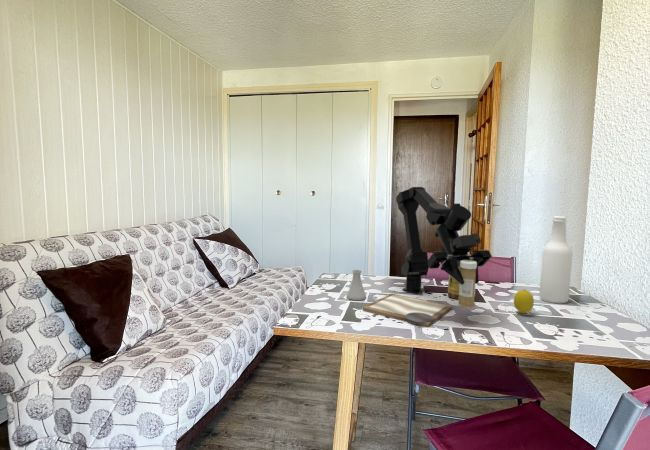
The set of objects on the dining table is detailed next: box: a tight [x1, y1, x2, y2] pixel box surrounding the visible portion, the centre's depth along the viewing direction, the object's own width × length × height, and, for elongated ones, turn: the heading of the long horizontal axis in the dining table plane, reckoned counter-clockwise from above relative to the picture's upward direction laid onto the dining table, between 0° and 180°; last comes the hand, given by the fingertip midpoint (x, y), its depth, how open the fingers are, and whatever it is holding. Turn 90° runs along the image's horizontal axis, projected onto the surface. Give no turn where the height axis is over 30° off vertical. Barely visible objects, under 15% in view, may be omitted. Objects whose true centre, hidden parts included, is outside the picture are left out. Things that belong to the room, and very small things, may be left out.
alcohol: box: [539, 215, 573, 305], centre depth 126 cm, size 9×9×30 cm
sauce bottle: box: [447, 262, 460, 300], centre depth 129 cm, size 7×6×20 cm
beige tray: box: [362, 293, 453, 328], centre depth 116 cm, size 21×22×1 cm
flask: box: [346, 269, 367, 301], centre depth 128 cm, size 7×7×10 cm
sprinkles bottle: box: [457, 260, 477, 309], centre depth 105 cm, size 5×5×14 cm
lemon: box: [513, 288, 535, 315], centre depth 113 cm, size 6×6×8 cm
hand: (470, 283), depth 103 cm, fingers closed on sprinkles bottle, 4 cm apart
